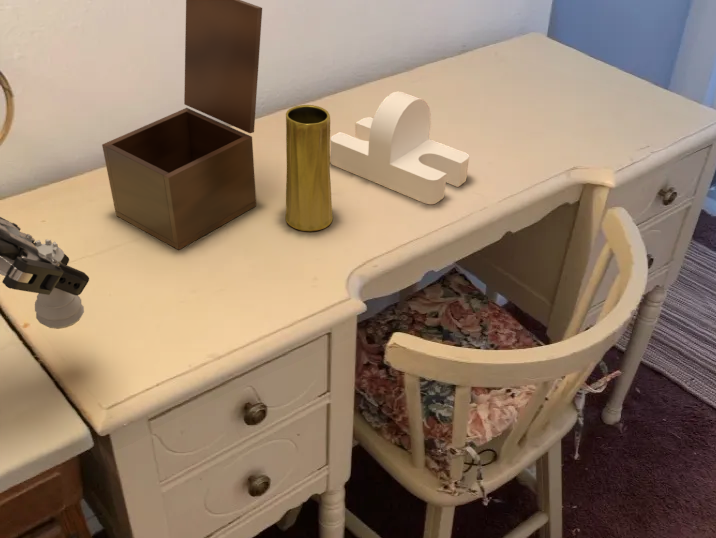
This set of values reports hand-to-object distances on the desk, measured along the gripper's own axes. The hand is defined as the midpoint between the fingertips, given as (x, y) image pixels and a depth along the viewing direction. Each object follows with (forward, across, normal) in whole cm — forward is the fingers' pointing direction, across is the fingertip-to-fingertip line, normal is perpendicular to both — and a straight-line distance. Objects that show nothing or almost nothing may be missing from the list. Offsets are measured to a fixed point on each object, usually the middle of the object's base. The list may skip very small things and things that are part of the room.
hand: (72, 275), depth 79 cm
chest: (+24, +18, -9) cm, 32 cm away
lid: (+17, +20, -26) cm, 37 cm away
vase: (+32, +7, -17) cm, 37 cm away
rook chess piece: (+2, 0, +4) cm, 5 cm away
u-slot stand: (+45, +9, -29) cm, 54 cm away
